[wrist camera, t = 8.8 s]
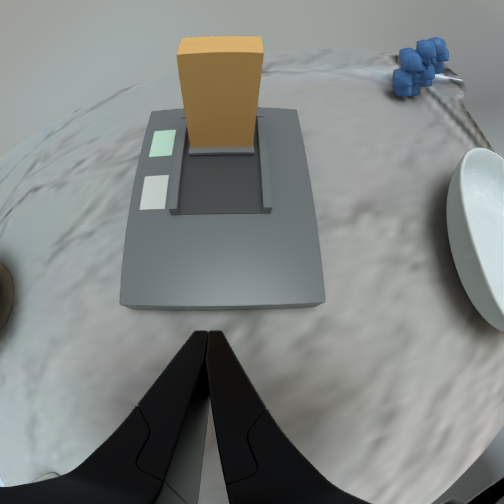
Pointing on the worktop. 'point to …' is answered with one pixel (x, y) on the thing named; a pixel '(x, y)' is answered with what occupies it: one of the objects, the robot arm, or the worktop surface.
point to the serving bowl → (479, 230)
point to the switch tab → (220, 92)
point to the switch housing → (222, 222)
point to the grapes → (419, 66)
